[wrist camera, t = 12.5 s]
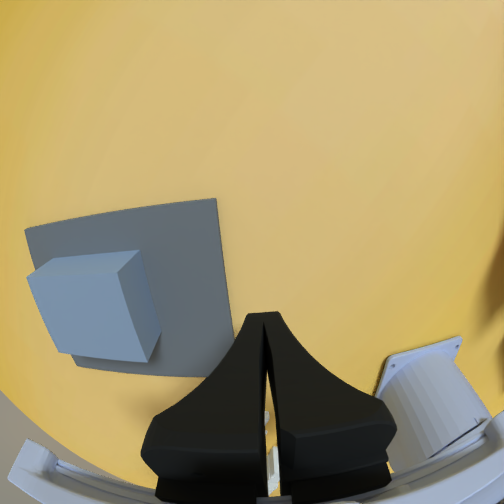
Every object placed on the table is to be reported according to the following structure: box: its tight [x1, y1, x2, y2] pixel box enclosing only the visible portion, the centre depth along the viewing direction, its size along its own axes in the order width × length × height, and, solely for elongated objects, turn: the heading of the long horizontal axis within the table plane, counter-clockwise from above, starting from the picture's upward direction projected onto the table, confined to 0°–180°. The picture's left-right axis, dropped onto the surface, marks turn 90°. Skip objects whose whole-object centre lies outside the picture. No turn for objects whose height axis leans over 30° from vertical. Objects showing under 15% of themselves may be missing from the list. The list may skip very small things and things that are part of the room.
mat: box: [24, 198, 235, 377], centre depth 16 cm, size 12×14×1 cm
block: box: [26, 250, 161, 363], centre depth 14 cm, size 6×3×7 cm
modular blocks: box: [265, 411, 280, 496], centre depth 21 cm, size 20×7×4 cm, turn 167°
